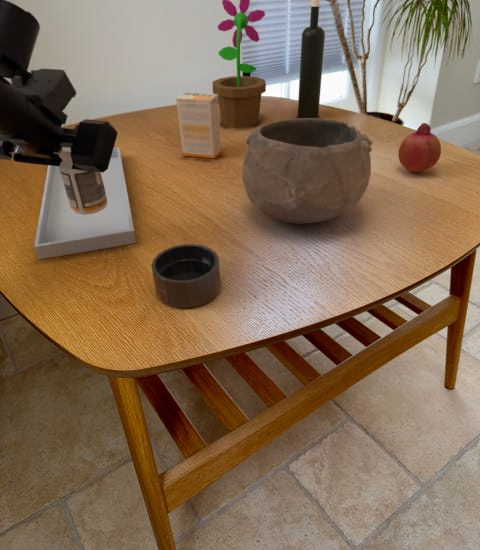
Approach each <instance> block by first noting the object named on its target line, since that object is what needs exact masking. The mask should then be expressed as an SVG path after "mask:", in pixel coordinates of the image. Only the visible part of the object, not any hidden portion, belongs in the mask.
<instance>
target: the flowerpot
mask: <svg viewBox="0 0 480 550" xmlns="http://www.w3.org/2000/svg"><path fill="white" fill-rule="evenodd" d="M250 2H251V0H239V3H238V4H239V5H238V8H239V11H240V12H238V10H237V6H236V5H234V3H233V2H232V1H231V0H222V1H221V3H222V8H223V9H224V11H225V12H226V14H228V15H229V16H232V17H234V18H233V19H231V18H229V19H225V20H222V21H220V23H219V24H218V25H217V29H218V31H221V32H227V31H231V30H232V29H233V28H234V27H236V29H235V30H234V32H233V35H232V45H233V47H232V46H231V45H230V46H224V47H222V48H221V49H220V50H219V51H218V55H219V56H220V57H221V58H222V59H223V60H226V61H229V62H230V61H233V60H235V59H236V75H233V76H226V77H219V78H217V79H215V80H213V81H212V94H218V105H219V115H220V119H221V124H222V125H223V126H226V127H229V128H234V129H235V128H236V129H237V128H248V127H253V126H255V125H257V124H258V123H259V118H260V111H261V110H260V109H261V103H262V94H264V93H266V91H267V82H266V79H264V78H261V77H258V76H248V75H241V72H243V73H244V74H250V73H252V72H254V71H256V70H257V67H256V66H254V65H251V64H249V63H245V62H244V63H241V44H242V41H243V36H244V35H243V31H242V29H244V32H245V35H246V36H247V37H248V38H249V39H250V40H251V41H253V42H255V43H258V42H259V41H260V36H259V32H258V31H257V30H256V29H255V28H254V26H253V25H249V23H248V22H251V23H256V22H259V21H261V20H262V19H263V18H264V17H265V16H266V13H265V11H264V10H261V9H256V10H253V11H250V12H249V14H248V15H247V14H246V12H247V11H248V10H249V8H250V7H249V6H250Z"/></svg>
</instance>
